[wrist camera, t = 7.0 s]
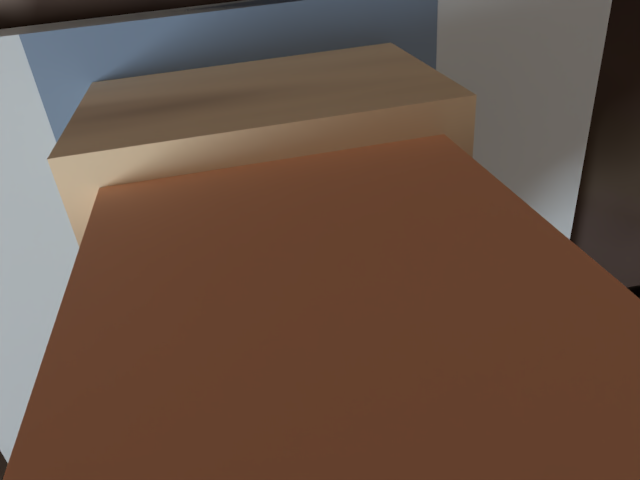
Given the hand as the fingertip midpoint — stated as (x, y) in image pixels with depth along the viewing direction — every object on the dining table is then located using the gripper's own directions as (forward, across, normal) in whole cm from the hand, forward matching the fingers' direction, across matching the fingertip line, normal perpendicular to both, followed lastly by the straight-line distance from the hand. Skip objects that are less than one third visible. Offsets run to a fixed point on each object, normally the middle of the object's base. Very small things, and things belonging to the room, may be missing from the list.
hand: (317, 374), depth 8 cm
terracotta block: (+2, 0, 0) cm, 2 cm away
